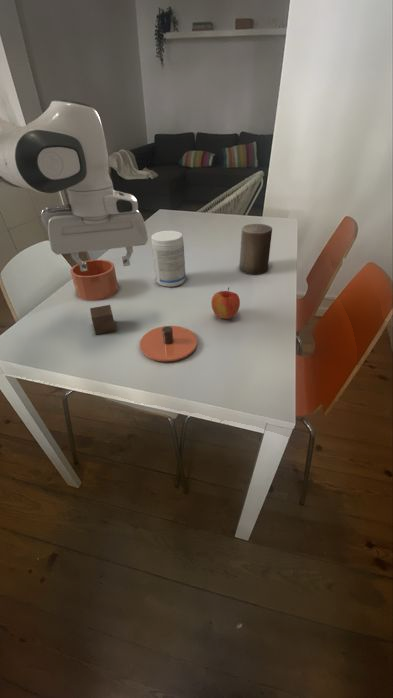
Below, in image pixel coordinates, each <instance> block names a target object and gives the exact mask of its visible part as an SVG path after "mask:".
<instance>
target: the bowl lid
mask: <svg viewBox="0 0 393 698" xmlns="http://www.w3.org/2000/svg"><path fill="white" fill-rule="evenodd" d="M197 343H198V340H197V337H196V335H195V334H194V332H193V331H192V330H190V329H188V328H187V327H183V326H178V325H164V326H159V327H155V328H153V329H150V330H148V331H147V332H146V333H145V334H143V336H142V337H141V340H140V341H139V348H140V351H141V353H142V354H143V355H144V356H145V357H147V358H149V359H151V360H153V361H158V362H174V361H179V360H182V359H184V358H186V357H188V356H190V355H191V354H192V353H193V352H194V351H195V350H196V348H197V345H198V344H197Z"/></svg>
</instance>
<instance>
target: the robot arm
mask: <svg viewBox="0 0 393 698" xmlns="http://www.w3.org/2000/svg"><path fill="white" fill-rule="evenodd" d="M109 164H110V160H109V152H108V146H107V140H106V135H105V132H104V128H103V125H102V122H101V118H100V116H99V114H98V112H97V110H96V109H95V108H94V107H92V106H91V105H90V104H88V103H84V102H81V101H78V100H68V99H62V98H61V99H54V100H52V101H50V104H49V106H48V107H47V108H46V109H45V111H44V112H43V113H42V114H41V115H39V116H38V117H37V118H36V119H34V120H32V121H30V122H29V123H26V125H24V126H23V125H22V126H21V125H17V124H14V123H11V122H8V121H7V120H5V119H3V118H2V117H0V182H2V183H3V184H6V185H8V186H9V187H14V188H18V189H19V188H21V189H26V190H29V191H32V192H37V193H39V194H45V195H47V194H56V193H58V192H61V191H64V190H66V193H67V197H68V201H69V203H68V204H67V203H66V204H60V205H47V206H46V208H44V209H42V211H41V212H40V220H41V222H42V225H43V227H44V229H46V230H47V234H48V235H47V236H48V241H49V246H50V250H51V252H53V253H54V254H55V255H67V254H68V255H69V254H70V256H71V259H72V260H73V261H74V262H75V263H76V265H77V264H78V265H79V266H80V270H81V272H82V271H88V268H87V264H86V261H87V260H82V259H81V258H80V257H79V253H84V252H85V253H86V252H94V251H95V252H96V251H103V250H112V249H121V248H125V250H126V254H125V255H124V256H122V257H121V259H122V266H123V267H129V266H131V262H130V259H131V256H132V254H133V252H134V248H133V247H139V246H145V245H146V244H147V243H148V241H149V236H148V231H147V227H146V226H147V225H146V223H145V219H144V217H143V215H142V213H141V212H140V210H139V203H138V200H137V198H136V197H135V196H134V195H133V194H131V193H128V192H123V191H119V190H115V189H114V184H113V181H112V178H111V175H110V172H109V171H110V170H109Z"/></svg>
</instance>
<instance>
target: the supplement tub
mask: <svg viewBox="0 0 393 698" xmlns="http://www.w3.org/2000/svg"><path fill="white" fill-rule="evenodd" d="M150 239H151V248H152V250H151V251H152V259H153V266H154V273H155V281H156V283H157V284H158V285H159V286H162V287H167V288H171V287H172V288H173V287H178V286H180V285H183V284H184V282H185V281H186V261H185V243H184V237H183V233H181V232H179V231H178V230H177V231H176V230H161V231H158V232H155V233H153V234H152V235H151V238H150Z"/></svg>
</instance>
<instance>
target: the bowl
mask: <svg viewBox="0 0 393 698" xmlns="http://www.w3.org/2000/svg"><path fill="white" fill-rule="evenodd" d="M85 261H86V264H87V268H88V271H82V272H81V270H80V266H79V265H78V264H77V263H76V264H74V265H73V266H72V267H71V268H70V274H71V278H72V282H73V285H74V289H75V292H76V295H77V297H78V298H80V299H82V300H84V301H100V300H105V299H108V298H111V297H112V296H115V294H117V292H118V291H119V283H118V278H117V275H116V269H115V268H116V267H115V264H114V262H112V261H110V260H106V259H90V260H85Z"/></svg>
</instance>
